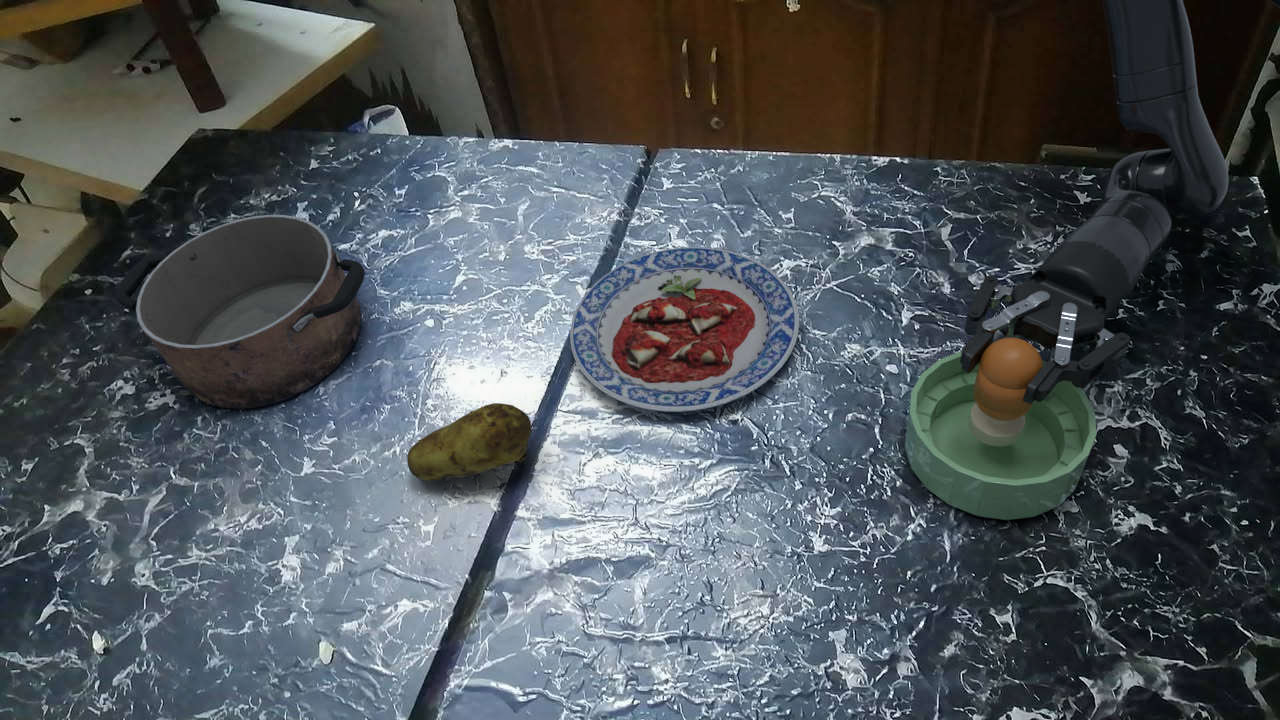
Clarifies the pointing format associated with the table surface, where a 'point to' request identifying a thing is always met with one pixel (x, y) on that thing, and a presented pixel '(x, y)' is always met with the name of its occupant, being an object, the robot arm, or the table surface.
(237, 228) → the cooking pot
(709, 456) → the table surface
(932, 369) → the green round shallow dish
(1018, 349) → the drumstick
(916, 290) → the table surface
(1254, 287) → the table surface
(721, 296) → the ceramic plate
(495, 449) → the potato
